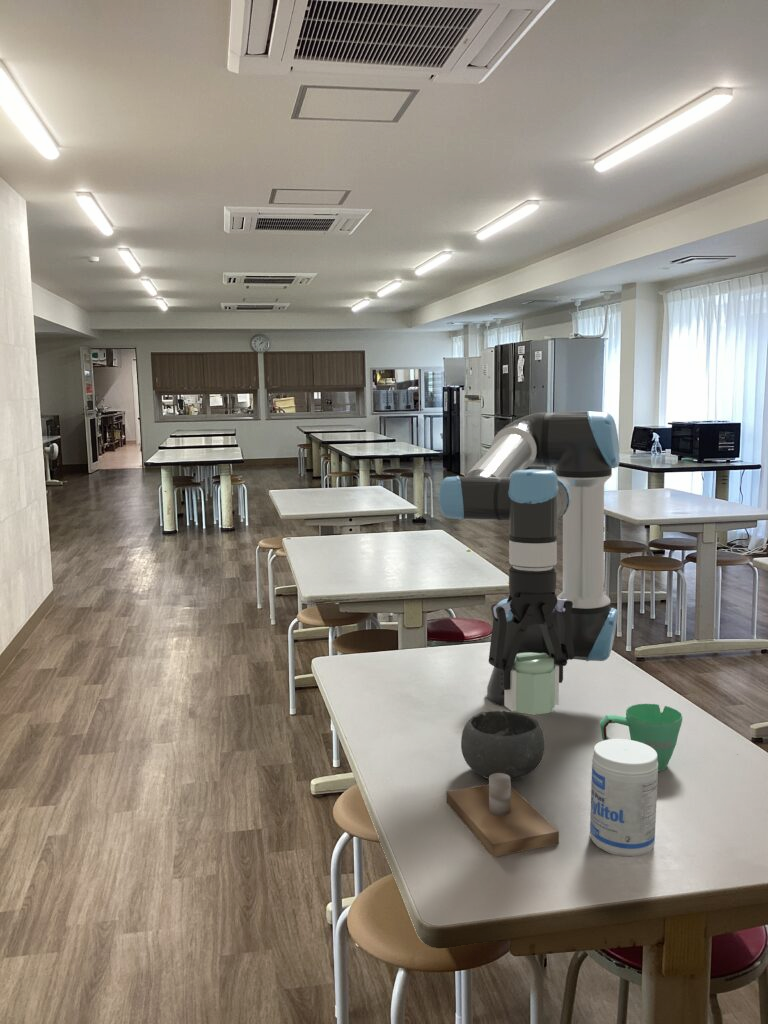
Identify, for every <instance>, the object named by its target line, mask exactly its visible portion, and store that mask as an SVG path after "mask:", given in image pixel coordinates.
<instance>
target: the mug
mask: <svg viewBox="0 0 768 1024" xmlns="http://www.w3.org/2000/svg"><path fill="white" fill-rule="evenodd" d="M601 719H602V720H600V721H599V726H600V733H601V734H600V735H601V740H602V741H604V740H609V739H610V737H608V735H607V726H609V725H610V724H619V725H623V726H626V727H628V731H629V738H630V740H633V741H637V742H641V743H644V744H646V745H648V746H650V747H652V748H653V749H654V750H655V751H656V753H657V761H658V772H659V771H664V770H665V769H667V767H668V765H669V762H670V760H671V758H672V756H673V753H674V752H675V751H674V750H675V748H676V745H677V742H678V738H679V737H678V736H679V734H680V733H679V732H680V730H681V727H682V724H683V714H682V713H681V712H680V711H679V710H678V709H676V708H674V707H670V706H667V705H664V707H663V710H662V712H661V708H660V706H659V704H658V703H657V704H656V703H638V704H633V705H631V706H629V707H627V708H626V710H625V716H623V715H617V714H607V715H605V716H604V717H603V718H601Z"/></svg>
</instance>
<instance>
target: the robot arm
mask: <svg viewBox="0 0 768 1024" xmlns="http://www.w3.org/2000/svg"><path fill="white" fill-rule="evenodd" d="M620 461H621V460H620V442H619V435H618V429H617V424H616V422H615V419H614V417H613V415H612V414H610V413H609V412H603V411H592V410H589V411H587V410H586V411H563V412H562V411H561V412H559V411H556V412H554V411H553V412H547V411H545V412H544V411H543V412H536V413H535V412H534V413H531V414H528V415H525V416H522V417H520V418H517V419H516V420H513V421H512V422H510V423H508V424H506V425H505V426H504V427H502V428H501V429H500V430H499V431H498V432H497V433H496V435H495V436H494V437H493V439H492V442H491V447H490V448H489V449H488V450H487V451H486V452H485V454H484V455H482V457H481V458H480V459H479V460H478V461H477V462H476V463H475V464H474V466H473V467H472V468H470V470H469V471H468V472H467V473H466V474H465V476H460V475H456V476H446V477H444V479H442V481H441V483H440V486H439V490H438V506H439V511H440V512H441V514H442V516H443V517H444V518H446V519H455V520H460V521H464V520H465V521H467V520H468V521H505V522H509V523H508V525H509V526H508V527H509V529H508V531H509V536H508V539H509V541H508V542H509V544H508V562H509V563H508V564H510V565H511V566H510V568H509V569H508V590H509V596H508V598H504V599H502V600H500V601H498V603H497V604H496V603H495V604H492V605H491V607H490V610H491V615H492V628H491V638H490V645H489V653H488V654H489V655H488V664H490V665H491V666H492V667H493V668H492V670H491V675H490V676H489V681H488V684H487V686H486V698H487V700H489V702H491V703H492V704H495V705H497V706H500V707H504V708H507V709H509V710H510V711H511V712H516V678H517V671H516V670H514V669H512V667H513V664H514V661H515V658H516V655H517V654H518V653H546V654H547V655H549V656H551V657H552V658H553V659H554V668H555V706H557V705H560V704H559V703H560V702H559V701H560V700H559V699H560V698H559V697H560V696H559V695H560V694H559V693H560V684H562V683H563V681H564V667H565V666H567V664H568V661H569V660H578V661H580V660H581V661H586V662H589V661H593V662H595V661H596V662H604V661H606V660H608V659H609V658H610V656H611V653H612V649H613V646H614V640H615V636H616V630H617V623H618V614H619V612H618V609H616V608H615V607H611V598H610V597H608V595H607V594H605V593H604V541H605V540H604V539H605V537H604V536H605V534H604V533H605V531H604V530H605V527H604V526H605V524H604V523H605V522H604V521H605V515H604V514H605V483H606V482H607V481H608V480H609V479H610V478H611V477H612V474H613V473H612V470H613V469H616V468H618V467H619V465H620ZM529 467H546V468H547V467H548V468H551V467H552V468H555V471H553V470H550V469H535V468H533V469H527V468H529ZM561 518H562V592H560V593H559V594H558V595H557V594H556V590H557V569H556V568H555V567H554V566H556V565H557V563H558V562H557V561H558V556H557V555H558V552H557V551H558V546H557V539H558V537H557V534H558V533H557V530H558V529H557V526H558V520H559V519H561Z"/></svg>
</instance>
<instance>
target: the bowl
mask: <svg viewBox="0 0 768 1024" xmlns="http://www.w3.org/2000/svg"><path fill="white" fill-rule="evenodd" d="M460 748H461V749H460V750H461V753H462V756H463V759H464V761H465V763H466V764H467V765H468V766H469V768H470V769H471V770H472V771H474V772H475V773H476V774H479V775H480V776H482V777H484V778H486V779H489V776H490V775H491V774H495V773H503V774H507V775H509V776H510V778H511V781H514V780H518V779H521V778H524V777H526V776H527V775H529V774H531V773H533V772H534V771H535V770H536V769H537V768H538V767H539V766H540V764H541V763H542V760H543V758H544V754H545V749H546V747H545V734H544V732H543V729H542V726H541V724H540V722H539V721H538V720H536V718H534V717H532V716H530V715H529V714H528V715H527V714H526V713H520V712H516V711H511V710H510V711H507V710H486V711H482V712H479V713H477V714H474V715H473V716H471V717H470V718H469V719H468V720H467V722H466V723H465V725H464V727H463V729H462V732H461V740H460Z"/></svg>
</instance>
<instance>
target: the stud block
mask: <svg viewBox="0 0 768 1024" xmlns="http://www.w3.org/2000/svg"><path fill="white" fill-rule="evenodd" d="M511 782H512V780H511V778H510V776H509V775H507V774H503V773H495V774H491V775H490V776H489V778H488V784H483V785H478V786H477V785H476V786H472V787H465V788H459V789H455V790H454V789H453V790H447V791H446V804H447V805H448V806H449V808H450V809H451V810H452V811H453V812H454V813H455V815H457V817H458V818H459V819H460V820H461V821H462V823H463V824H464V825H465V826H466V828H468V830H469V831H470V832H471V833H472V834H473V836H474V837H475V838H476V839H477V840H478V842H479V843H480V844H481V845H482V846H483V847H484V848H485V850H486V851H487V852H488V853H489V854H490V855H491V856H492V858H495V857H499V856H504V855H510V854H514V853H519V852H524V851H529V850H535V849H539V848H544V847H549V846H554V845H555V846H556V845H558V844H559V843H560V842H559V841H560V840H559V839H560V837H559V833H560V832H559V830H558V829H557V828H556V827H555V826H554V825H553V824H552V823H550V822H549V821H548V820H547V819H546V818H545V817H544V816H543V815H542V814H541V813H540V812H539V811H538V810H537V809H535V807H534V806H533V805H531V803H529V802H528V801H527V800H526V799H525V797H523V796H522V795H521V794H520V793H519V792H518V791H517V790H516V789H515V788H513V787H512V786H511Z"/></svg>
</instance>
